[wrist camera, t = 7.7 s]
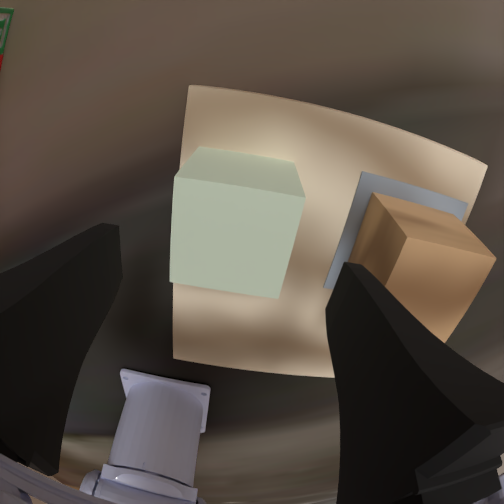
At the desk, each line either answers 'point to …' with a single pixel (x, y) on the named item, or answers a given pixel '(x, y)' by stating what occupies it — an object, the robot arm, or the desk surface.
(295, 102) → the baseplate
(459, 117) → the desk surface
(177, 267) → the sage block
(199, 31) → the desk surface
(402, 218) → the oak block
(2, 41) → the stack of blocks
